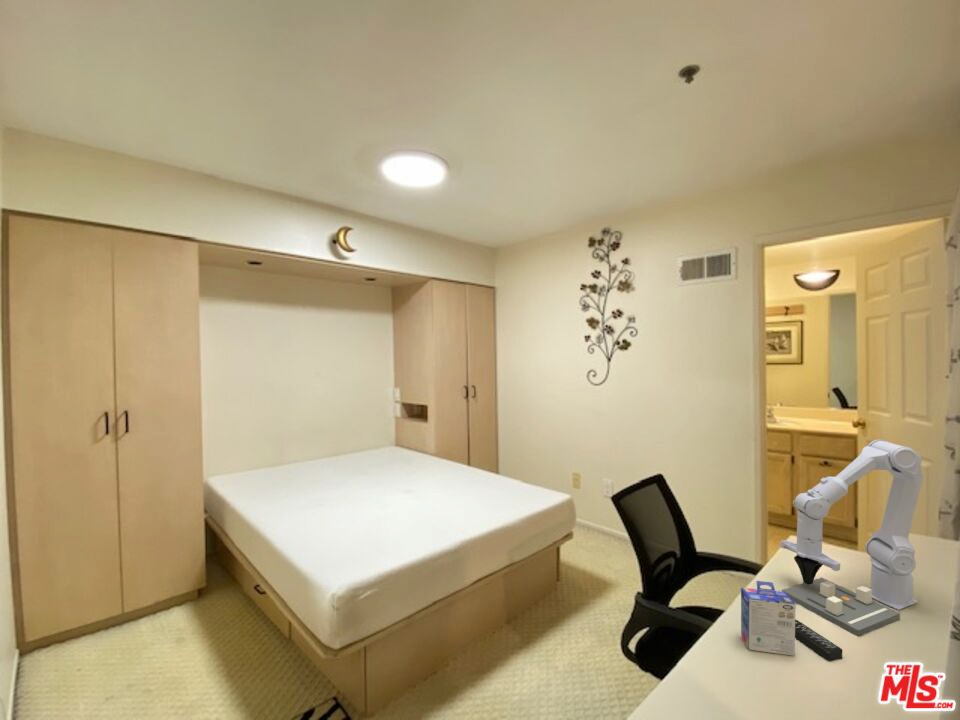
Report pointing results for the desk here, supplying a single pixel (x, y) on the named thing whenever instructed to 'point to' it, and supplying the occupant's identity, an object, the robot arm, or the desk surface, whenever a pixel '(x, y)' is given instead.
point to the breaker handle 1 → (834, 605)
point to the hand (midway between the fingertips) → (808, 582)
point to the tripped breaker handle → (827, 589)
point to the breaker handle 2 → (864, 595)
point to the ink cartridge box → (768, 620)
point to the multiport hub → (817, 642)
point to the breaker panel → (843, 608)
